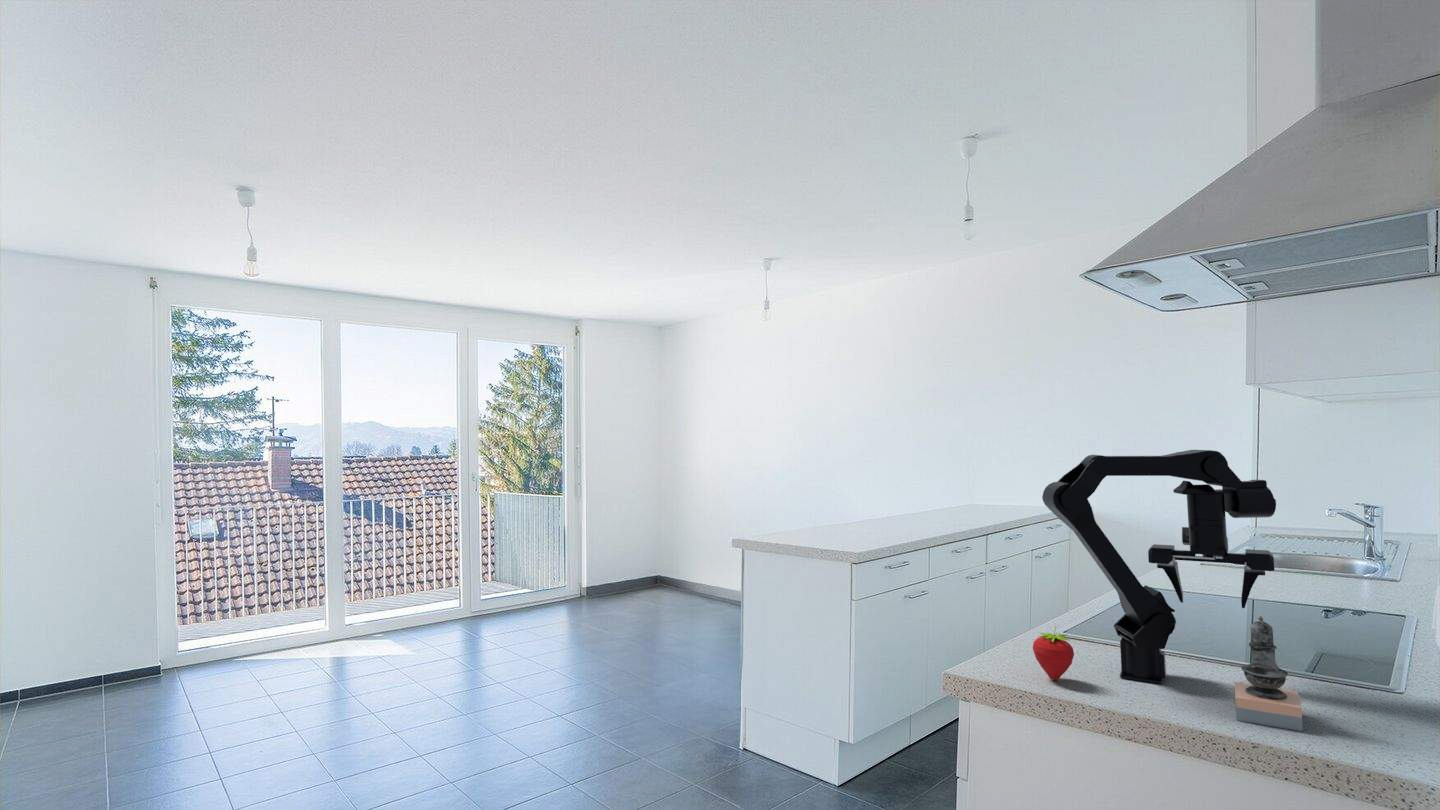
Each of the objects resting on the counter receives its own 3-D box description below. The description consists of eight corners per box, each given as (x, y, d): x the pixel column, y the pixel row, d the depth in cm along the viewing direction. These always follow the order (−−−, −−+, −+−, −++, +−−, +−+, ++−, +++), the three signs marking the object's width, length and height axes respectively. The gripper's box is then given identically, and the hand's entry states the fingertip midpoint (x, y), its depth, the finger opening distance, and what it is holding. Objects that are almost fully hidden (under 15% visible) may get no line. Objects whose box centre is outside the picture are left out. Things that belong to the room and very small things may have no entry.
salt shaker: (1282, 689, 114) (1277, 612, 115) (1295, 702, 109) (1290, 622, 110) (1238, 685, 117) (1233, 610, 117) (1248, 698, 111) (1243, 619, 112)
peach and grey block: (1236, 720, 112) (1235, 697, 112) (1236, 703, 118) (1235, 682, 118) (1302, 731, 107) (1301, 707, 107) (1298, 713, 113) (1297, 691, 114)
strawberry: (1048, 671, 136) (1046, 618, 136) (1083, 683, 129) (1081, 627, 129) (1025, 676, 133) (1023, 622, 134) (1060, 689, 127) (1057, 632, 127)
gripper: (1269, 515, 133) (1274, 601, 132) (1151, 512, 143) (1156, 591, 143) (1271, 522, 123) (1277, 614, 123) (1145, 518, 134) (1150, 602, 134)
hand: (1211, 604), depth 131 cm, fingers open, 9 cm apart
